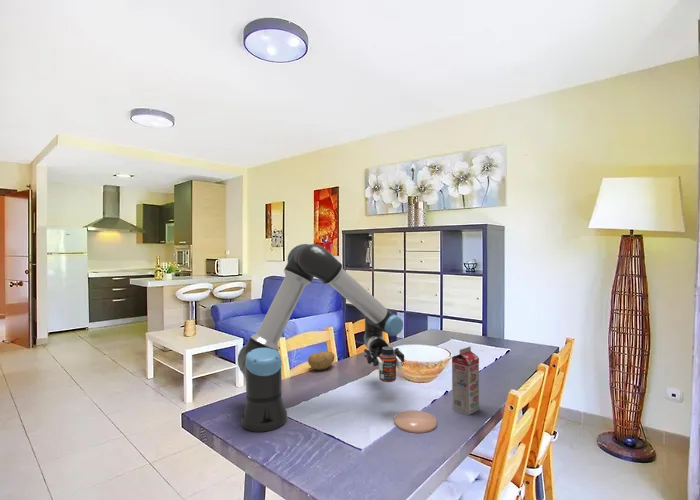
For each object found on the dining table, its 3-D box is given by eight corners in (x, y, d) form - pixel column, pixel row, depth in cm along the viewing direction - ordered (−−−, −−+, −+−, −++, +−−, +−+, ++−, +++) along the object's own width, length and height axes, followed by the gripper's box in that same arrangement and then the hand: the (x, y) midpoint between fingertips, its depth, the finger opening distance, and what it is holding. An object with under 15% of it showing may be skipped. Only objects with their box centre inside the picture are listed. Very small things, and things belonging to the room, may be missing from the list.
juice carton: (452, 408, 136) (451, 347, 136) (462, 403, 140) (462, 344, 140) (468, 415, 131) (468, 351, 130) (479, 409, 135) (478, 348, 135)
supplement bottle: (383, 383, 130) (382, 350, 130) (376, 377, 136) (376, 346, 135) (399, 381, 132) (398, 349, 131) (392, 376, 137) (391, 344, 137)
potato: (339, 368, 182) (339, 351, 182) (314, 374, 173) (314, 357, 173) (328, 363, 189) (328, 347, 189) (304, 369, 181) (303, 352, 181)
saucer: (431, 436, 117) (431, 433, 117) (388, 427, 122) (388, 424, 122) (440, 417, 129) (440, 414, 129) (400, 410, 135) (400, 407, 135)
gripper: (401, 355, 152) (418, 375, 129) (354, 357, 150) (363, 378, 127) (401, 337, 152) (418, 353, 129) (354, 339, 150) (363, 356, 127)
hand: (391, 366), depth 128 cm, fingers closed on supplement bottle, 6 cm apart
